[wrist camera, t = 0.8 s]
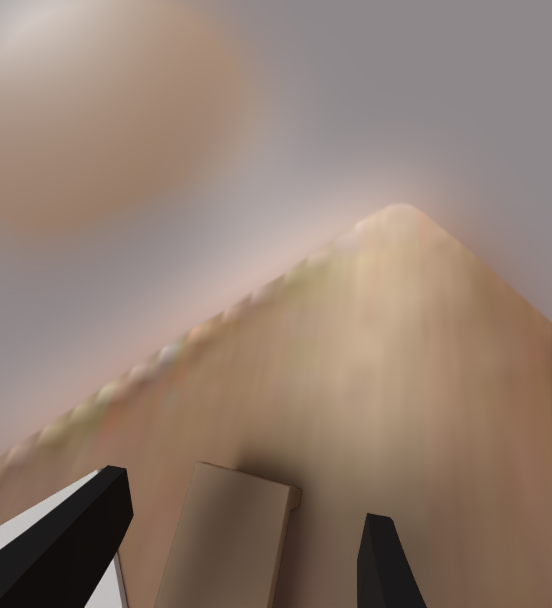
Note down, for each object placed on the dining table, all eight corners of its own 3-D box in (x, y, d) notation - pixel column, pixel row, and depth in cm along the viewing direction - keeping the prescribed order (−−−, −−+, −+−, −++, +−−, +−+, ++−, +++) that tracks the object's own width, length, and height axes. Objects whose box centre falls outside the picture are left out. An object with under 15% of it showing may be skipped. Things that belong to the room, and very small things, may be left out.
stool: (307, 485, 23) (289, 486, 18) (277, 662, 20) (245, 721, 15) (231, 465, 25) (196, 461, 20) (191, 623, 21) (137, 665, 17)
